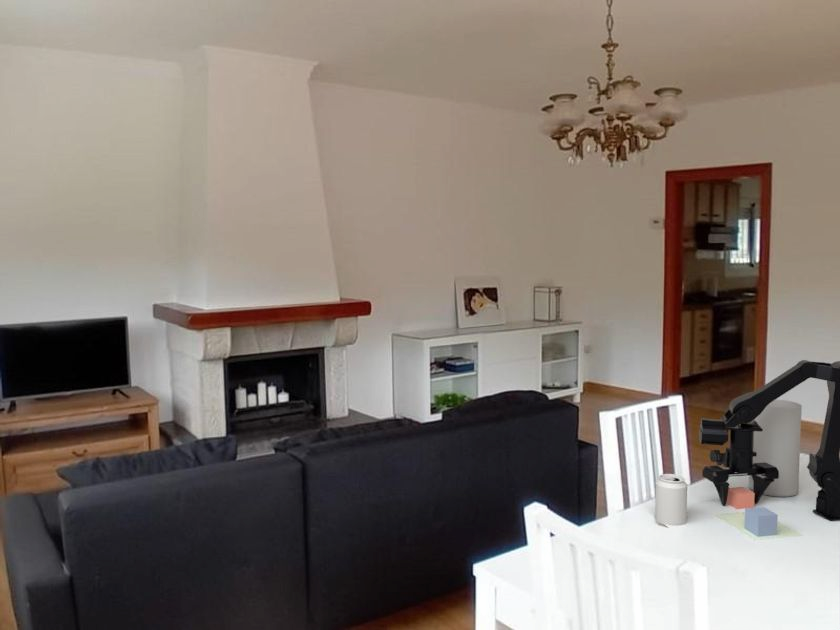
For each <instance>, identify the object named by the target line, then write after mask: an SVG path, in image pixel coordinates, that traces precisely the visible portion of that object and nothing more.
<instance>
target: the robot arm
mask: <svg viewBox="0 0 840 630" xmlns="http://www.w3.org/2000/svg"><path fill="white" fill-rule="evenodd" d="M811 378H812V379H817V380H821V381H822V380H823V381H826V385H827V391H828V401H827V405H826V410H825V411H826V413H825V417H824V418H825V419H824V422H823V428H822V435H821V440H820V445H819V449H818V450H817V452H816V454H814V453H811V452H810V453H809V455H808V456H809V462H808V465H807V466H806V469H808V472H809V476H810V477H811V478H812V480H813V481H815V482H816V484H817V486H818V487H819V488H820V490H819V489H818V490H817V496H816V498H815V501H816V502H815V509H812V513H815V514H816V515H818V516H820V517H822V518H824V519H826V520H828V521H840V360H839V361H833V362H832V363H830V362H824V361H823V362H822V361H809V360H808V359H803V360H799V361H798V362H797V363H796V364H795V365H794V366H791V367H790V368H789V369H787V370H786V371H784V372H783V373H781V374H780V375H778V376H777V377H775V378H774V379H772V380H771V381H769V382H768V383H765V385H763V386H761V387H759V388H758V389H756V390H752V391H750V392H747V393H744V394H742V395H739V396H736V397H734V398H733V399H732V400H731V401H730V402H729V406H728V409H727V410H726V411H725V413H724V414H723V415H722V416H721V417H720V419H713V418H707V417H705V418H704V417H701V418H700V425H699V428H698V441H699V444H700V445H707V446H708V445H711V446H724V444H727V442H728V441H729V447H726V448H725V452H721V451H720V449H712V450H710V453H709V459H710V462H712V463H716V465H706V466H704V467H703V469H702V477H703V478H705V479H707V480H708V481H710V482H711V483H712V484H713V486H714V487H715V489H716V492H717V495H718V497H719V500H720V503H721V505H722V506H723V507H725V506H726V504H727V503H726V502H727V496H728V489H729V488H730V483H729V482H728V481H729V477H743V476H749V475H751V476H752V478H753V482H754V483H753V490H752V492H753V493H755V495H754V504H758V503H759V501H760V500H761V498H762V496H763V495H764V494H763V493H764V492H765V490H766V489H767V487H768V486H769V485H770V484H771V482H774V479H778V478H779V471H778V469H777V467H775V466H772V465H770V464H768V463H766V462H763V463H754V464H753V456H756V454H757V452H754V451H753V446H754V431H763V429H762V428H761V427H760V426H759V425H758V424H757V422H756V421H755V420H754V419H755V418H756V417H757V416H759V415H760V414H761V413H762V412H763V410H764V409H765V408H766V406H767V405H768V404H770V403H771V402H772V401H774V400H775V399H778V398H780V397H782V396H783V395H784V394H785V395H786V393H788V392H790V391H791V390H793V389H794V388H795V387H797V386H799V385H800V384H802V383H804V382H805V381H806V380H808V379H811ZM721 465H723V467H725V468H727V469H724V468H723V467H721Z"/></svg>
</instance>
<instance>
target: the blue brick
mask: <svg viewBox="0 0 840 630" xmlns="http://www.w3.org/2000/svg"><path fill="white" fill-rule="evenodd" d="M744 512H745V527H744V529H746V530H748V531H749V532H751V533H752V534H754V535H756V536H757V537H762V536H773V535H777V521H779V520H778V516H779V515H778V514H777V513H775V512H773V511H772V510H770V509H769V508H767V507H764V506H761V507H760V506H759V507H754V508H745V509H744Z"/></svg>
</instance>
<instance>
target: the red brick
mask: <svg viewBox="0 0 840 630" xmlns="http://www.w3.org/2000/svg"><path fill="white" fill-rule="evenodd" d="M754 495H755V493H753V491H751V490H749V489H747V488H746V487H744V486H738V487H737V486H736V487H729V489H728V496H727V502H726V504H727V505H729V506H730V507H733V508H734V509H736V510H742V509H743V510H745V508H755V503H754Z"/></svg>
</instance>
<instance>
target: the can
mask: <svg viewBox="0 0 840 630" xmlns="http://www.w3.org/2000/svg"><path fill="white" fill-rule="evenodd" d="M685 480H686V479H685V477H684V476H682V475H680V474H674V473H664V474H663V473H662V474H660V475H658V477H657V480H655V490H654V491H655V500H654V520H655V522H657V523H658V525H659V526H662V527H664V528H667V529H669V526H674V527H677V526H678V527H679V526H683V525H685V524H687V514H688V512H687V509H688V484H687V482H686V481H685Z"/></svg>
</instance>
